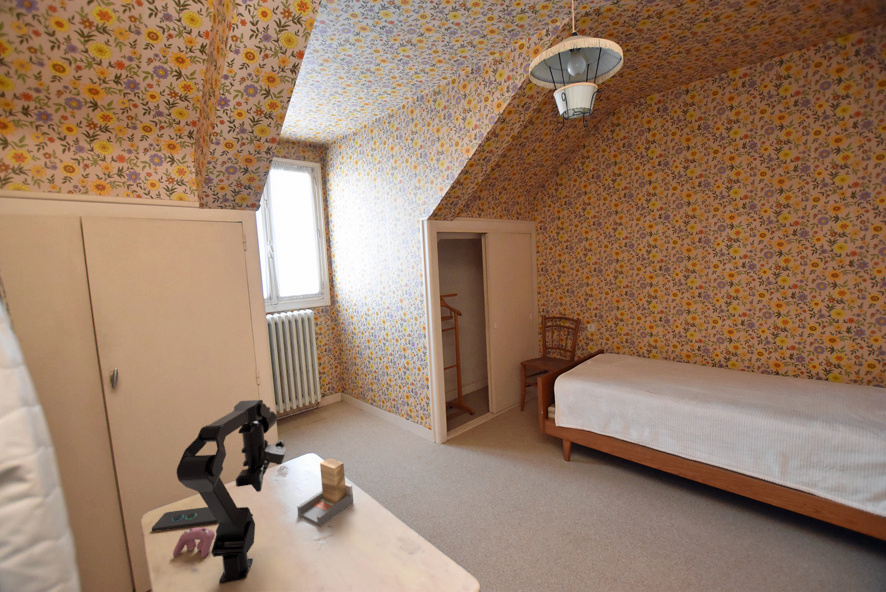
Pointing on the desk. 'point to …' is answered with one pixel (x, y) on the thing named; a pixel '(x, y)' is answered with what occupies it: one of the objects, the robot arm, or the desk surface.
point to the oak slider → (333, 480)
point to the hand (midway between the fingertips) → (259, 491)
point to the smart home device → (185, 519)
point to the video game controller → (189, 540)
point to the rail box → (324, 507)
